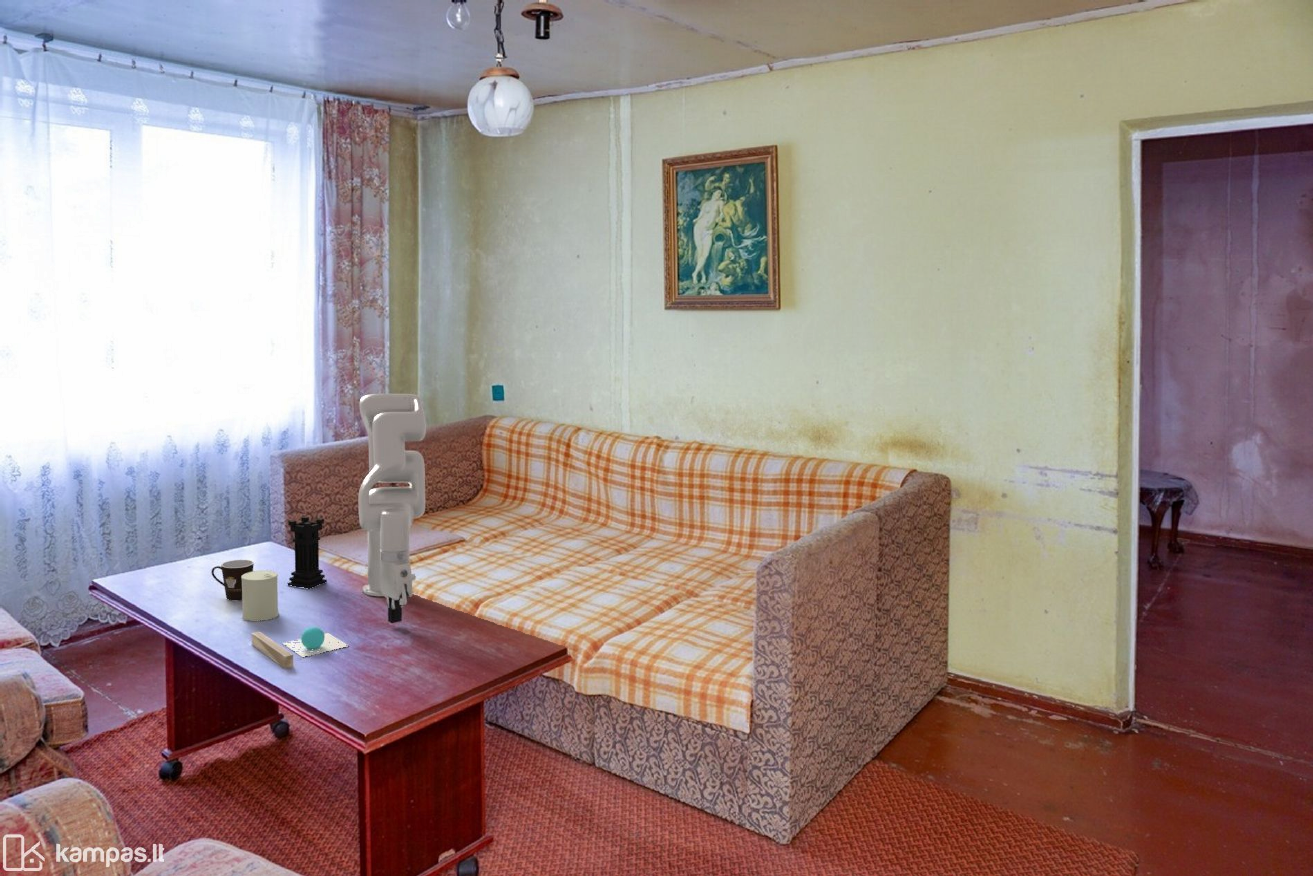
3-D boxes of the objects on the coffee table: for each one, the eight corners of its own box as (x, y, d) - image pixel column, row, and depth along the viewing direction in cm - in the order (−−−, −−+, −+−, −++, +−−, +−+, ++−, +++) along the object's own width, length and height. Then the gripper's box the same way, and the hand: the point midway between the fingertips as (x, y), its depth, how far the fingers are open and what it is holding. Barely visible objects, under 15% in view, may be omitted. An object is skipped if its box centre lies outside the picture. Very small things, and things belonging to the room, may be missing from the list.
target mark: (327, 633, 243) (327, 632, 243) (349, 646, 234) (349, 645, 234) (282, 643, 235) (282, 643, 235) (302, 657, 226) (302, 657, 226)
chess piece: (326, 582, 286) (326, 518, 283) (309, 589, 279) (308, 524, 276) (305, 578, 289) (304, 516, 286) (287, 585, 281) (286, 521, 278)
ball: (297, 625, 231) (295, 647, 232) (310, 631, 228) (308, 653, 228) (317, 623, 236) (315, 644, 236) (330, 628, 232) (327, 649, 233)
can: (265, 623, 249) (264, 579, 247) (234, 619, 251) (233, 576, 249) (285, 612, 258) (284, 570, 256) (255, 609, 260) (254, 567, 258)
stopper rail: (259, 643, 235) (259, 631, 234) (293, 666, 221) (293, 654, 220) (251, 644, 233) (251, 633, 233) (284, 668, 219) (284, 656, 219)
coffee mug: (260, 596, 270) (260, 563, 269) (233, 603, 263) (232, 569, 262) (236, 588, 276) (236, 556, 275) (209, 595, 269) (208, 562, 268)
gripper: (421, 559, 244) (421, 626, 247) (393, 547, 255) (393, 611, 258) (396, 563, 239) (396, 632, 242) (368, 551, 250) (368, 617, 252)
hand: (394, 621), depth 250 cm, fingers closed
